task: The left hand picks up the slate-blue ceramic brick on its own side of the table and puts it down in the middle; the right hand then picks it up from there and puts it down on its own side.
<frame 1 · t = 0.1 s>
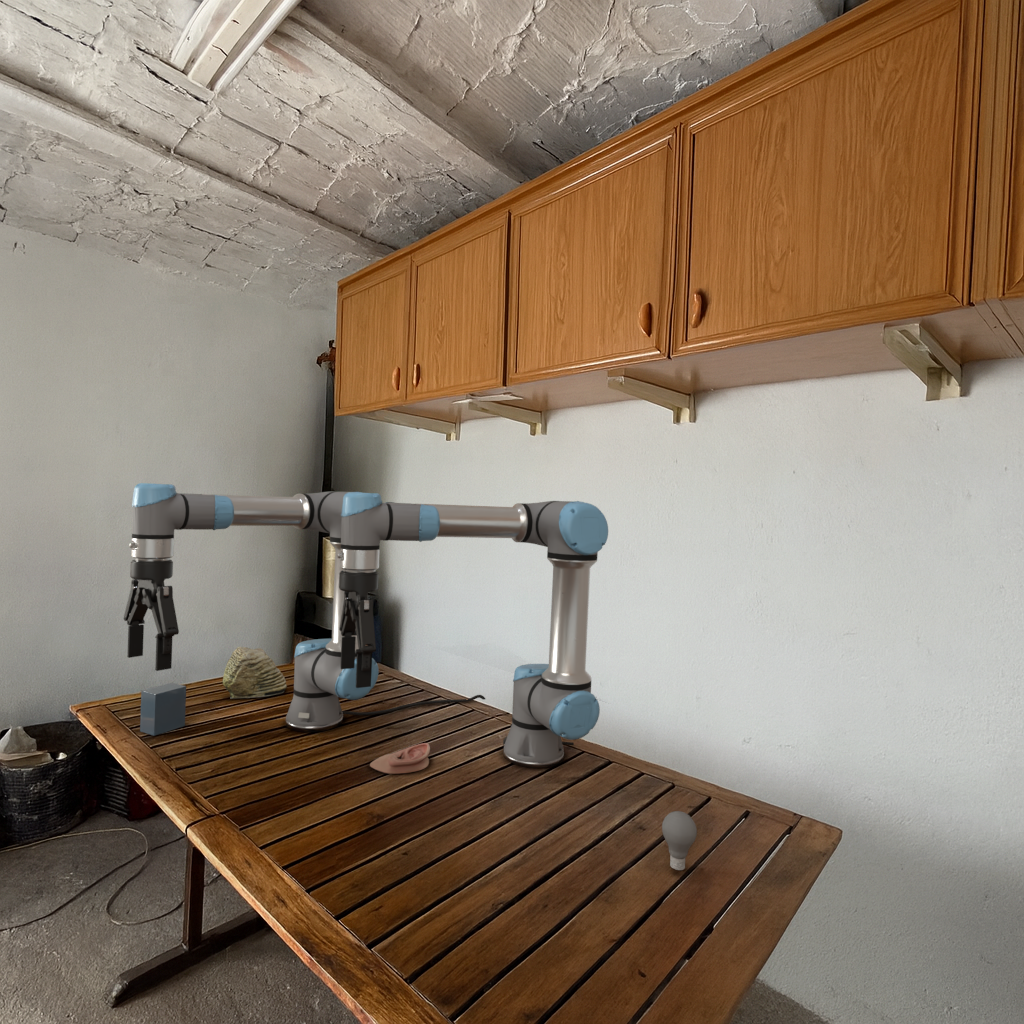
left hand: (148, 662, 129), 28 cm above the table, tool pointing down, fingers open, 13 cm apart
right hand: (355, 677, 126), 28 cm above the table, tool pointing down, fingers open, 13 cm apart
light bulb: (677, 869, 113), on the table
brick: (162, 728, 167), on the table
fossil: (254, 694, 198), on the table
anatomical model: (400, 765, 151), on the table
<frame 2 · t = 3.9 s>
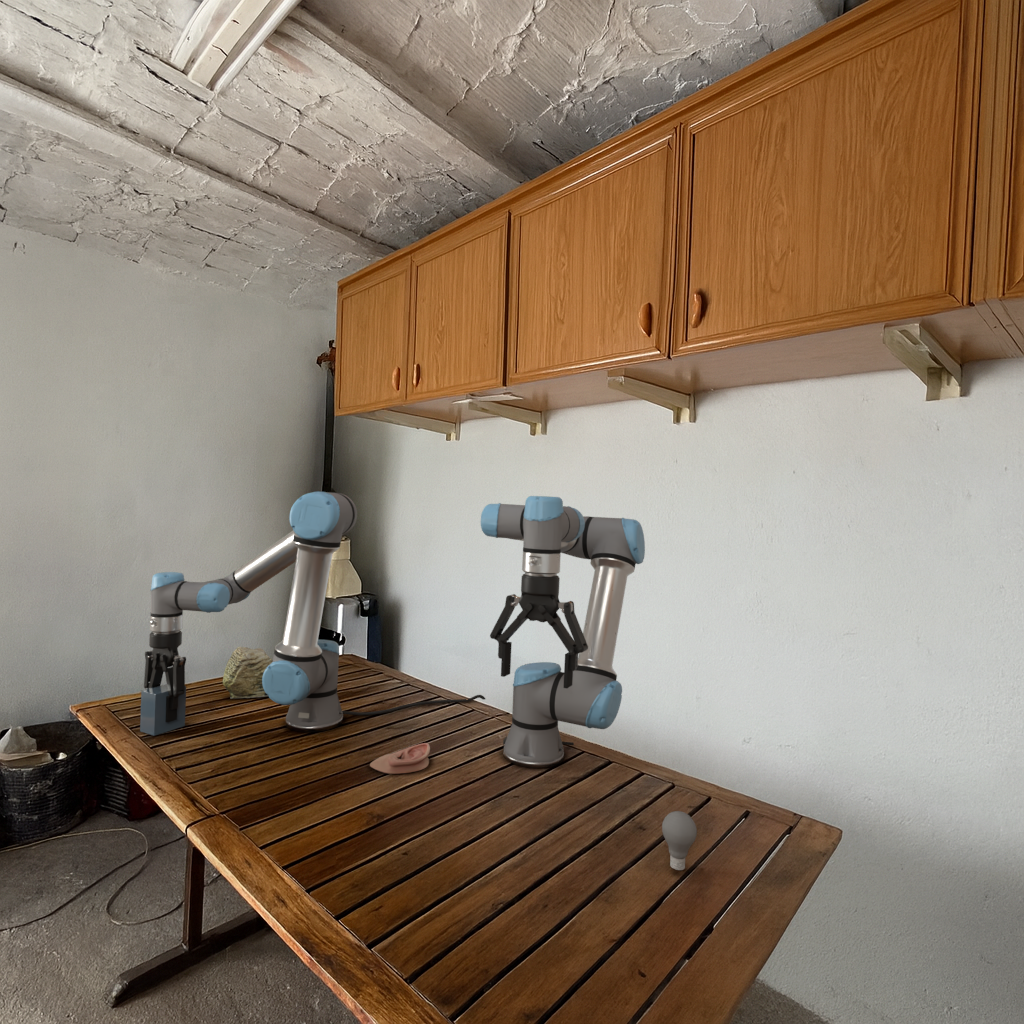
left hand: (163, 718, 167), 3 cm above the table, tool pointing down, fingers closed on brick, 6 cm apart
right hand: (535, 680, 126), 29 cm above the table, tool pointing down, fingers open, 13 cm apart
brick: (162, 728, 167), on the table, touching left hand
everything else where it was.
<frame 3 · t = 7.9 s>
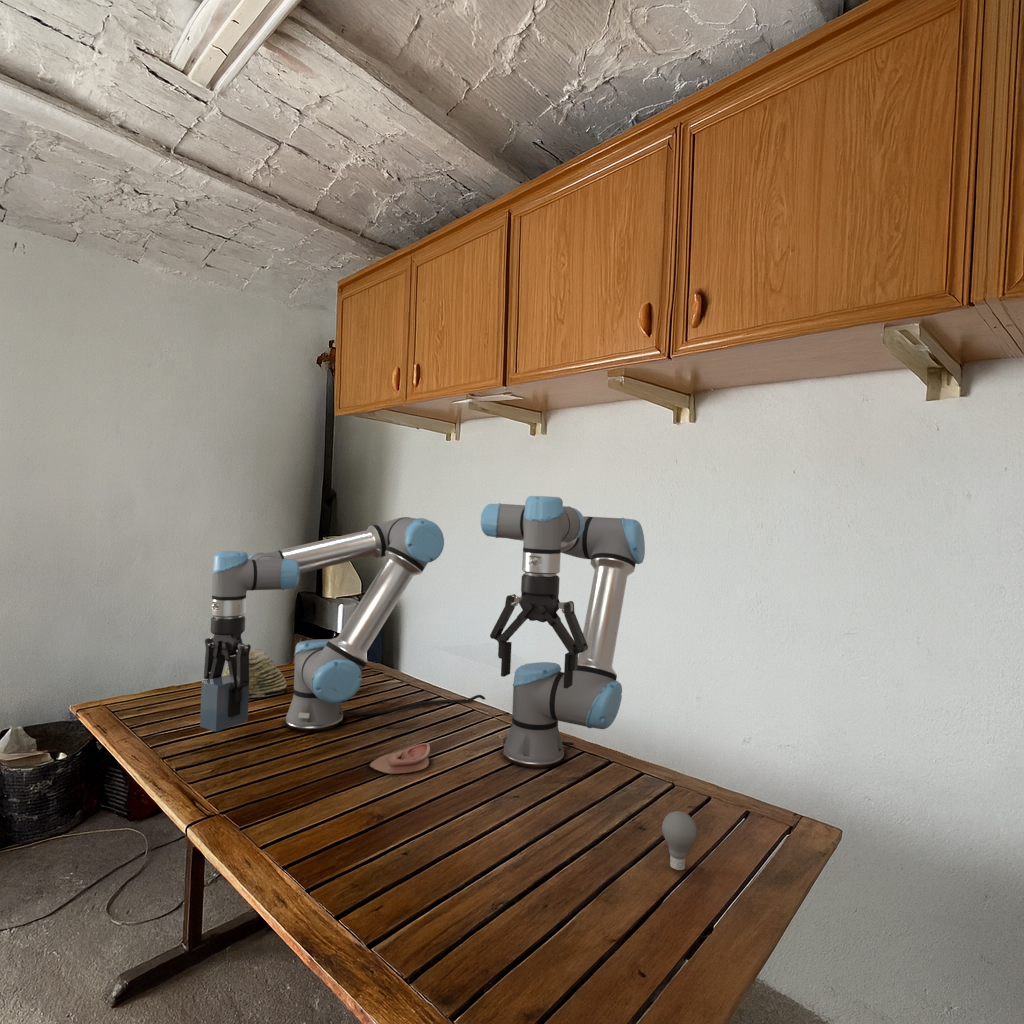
left hand: (224, 712, 151), 11 cm above the table, tool pointing down, fingers closed on brick, 6 cm apart
right hand: (535, 680, 126), 29 cm above the table, tool pointing down, fingers open, 13 cm apart
brick: (224, 723, 151), point 8 cm above the table, touching left hand
everything else where it was.
when the left hand's fingers open (4 cm above the table, at t = 12.1 s): brick drops 1 cm, on the table.
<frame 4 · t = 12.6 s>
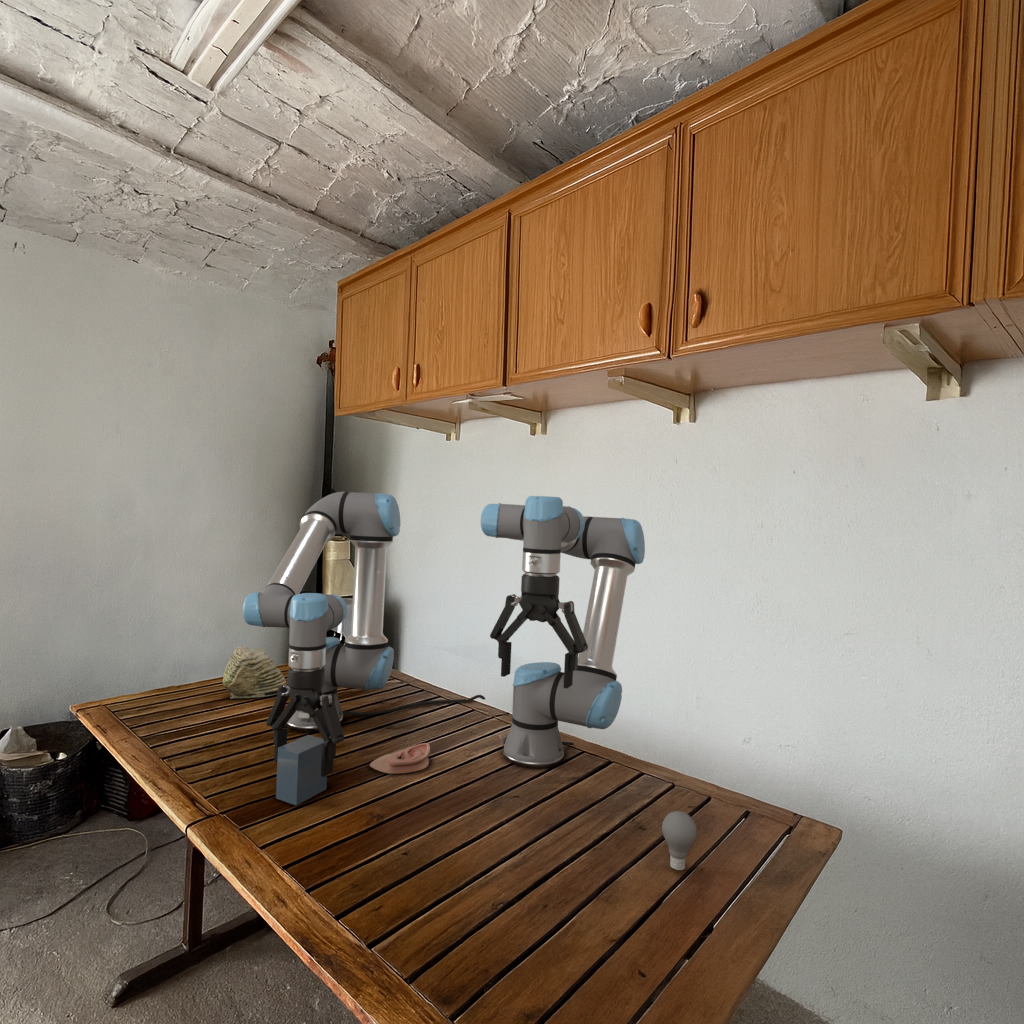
left hand: (303, 767, 135), 6 cm above the table, tool pointing down, fingers open, 13 cm apart
right hand: (535, 680, 126), 29 cm above the table, tool pointing down, fingers open, 13 cm apart
brick: (301, 793, 135), on the table
everything else where it was.
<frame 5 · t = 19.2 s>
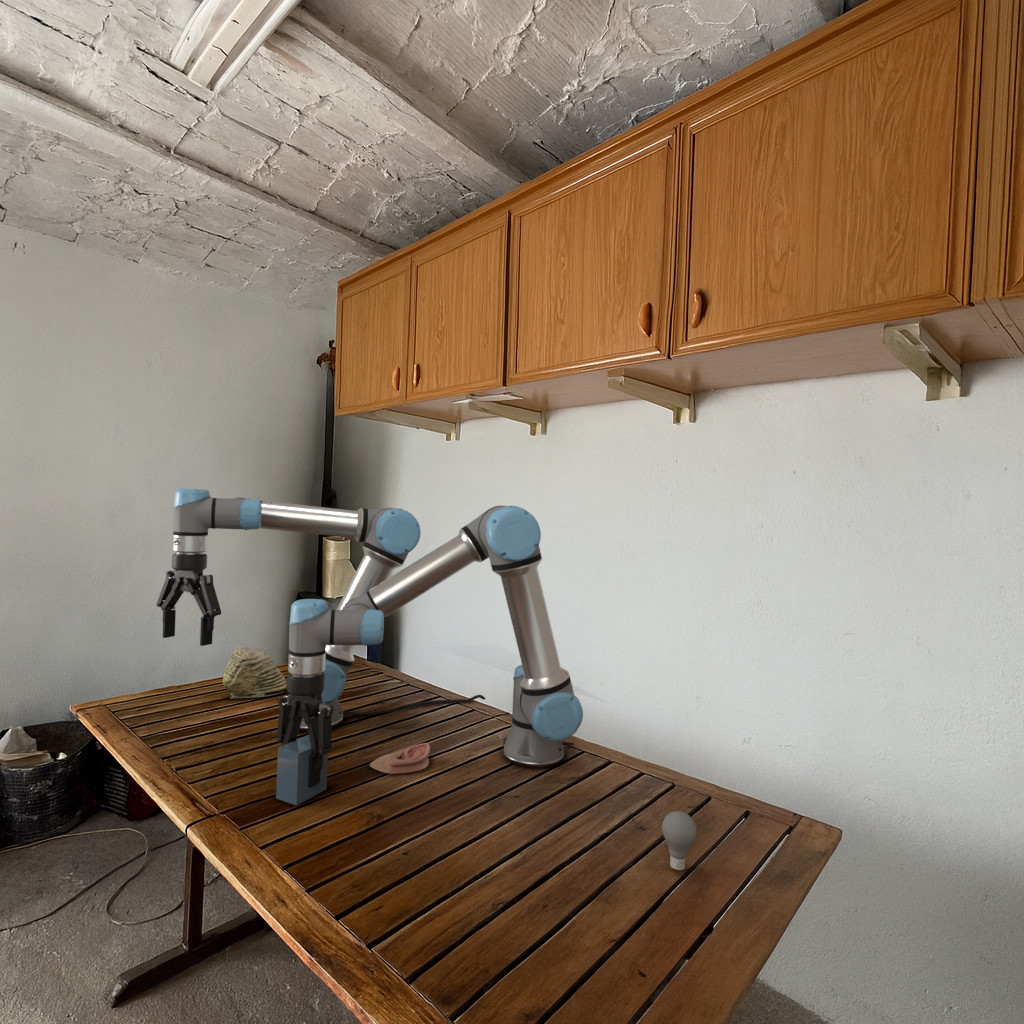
left hand: (187, 640, 153), 27 cm above the table, tool pointing down, fingers open, 13 cm apart
right hand: (302, 780, 135), 3 cm above the table, tool pointing down, fingers closed on brick, 6 cm apart
brick: (301, 793, 135), on the table, touching right hand
everything else where it was.
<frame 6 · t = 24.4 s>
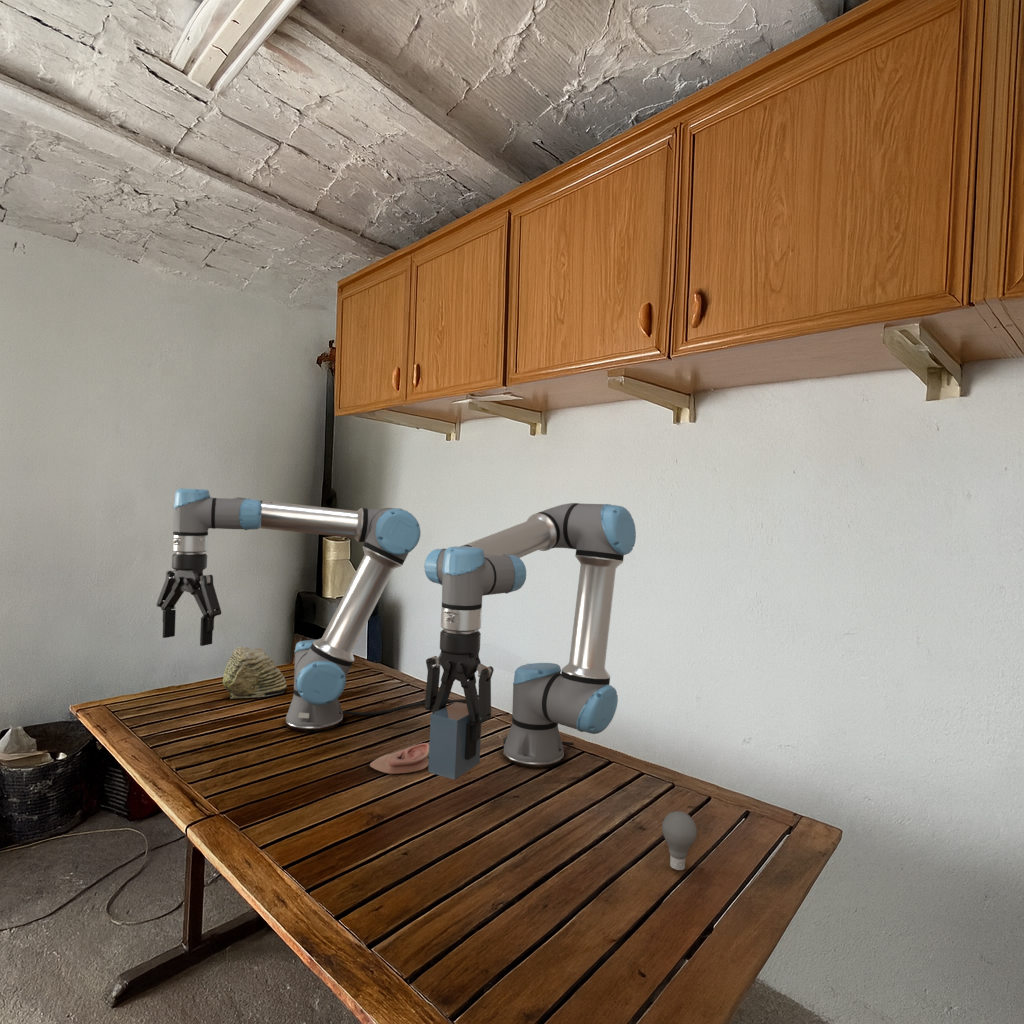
left hand: (187, 640, 153), 27 cm above the table, tool pointing down, fingers open, 13 cm apart
right hand: (455, 752, 118), 17 cm above the table, tool pointing down, fingers closed on brick, 6 cm apart
brick: (454, 767, 118), point 14 cm above the table, touching right hand
everything else where it was.
when the right hand's fingers open (4 cm above the table, at t = 29.6 s): brick drops 1 cm, on the table.
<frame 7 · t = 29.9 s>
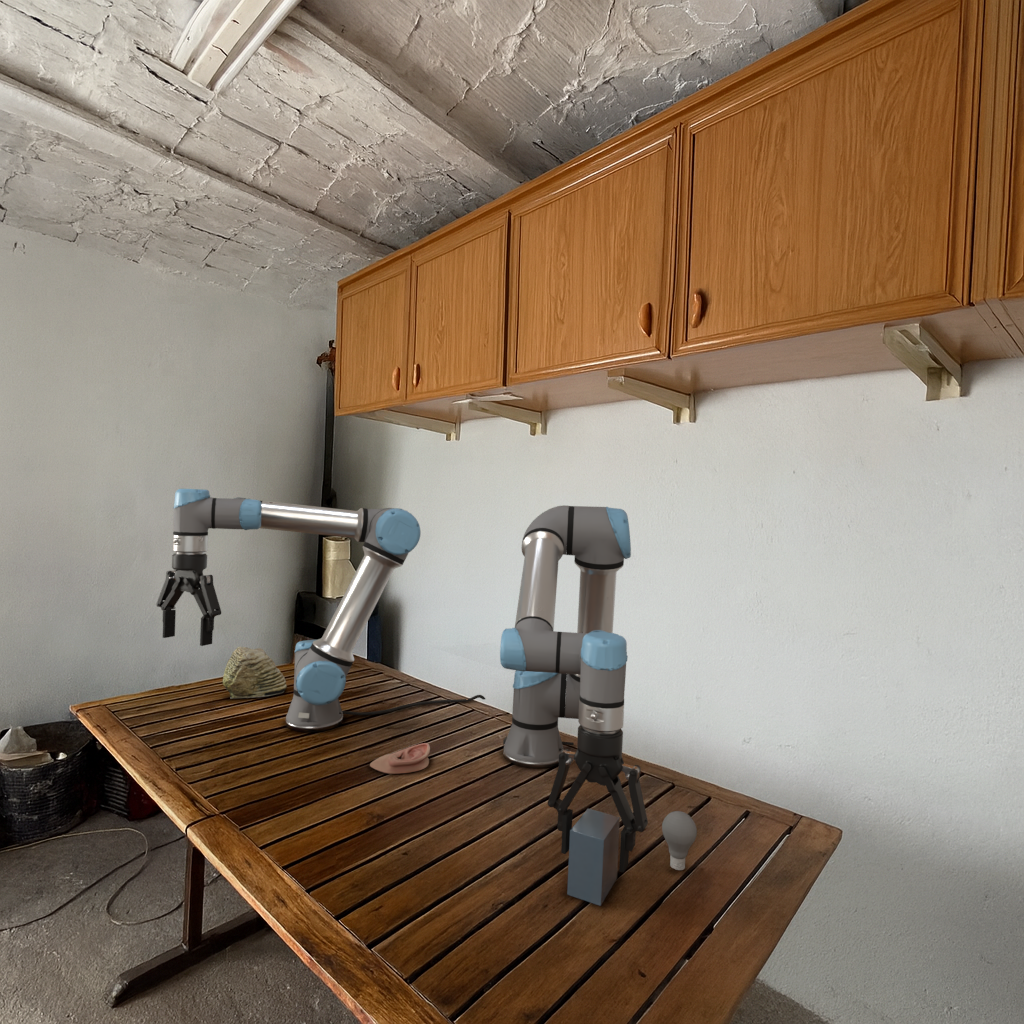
left hand: (187, 640, 153), 27 cm above the table, tool pointing down, fingers open, 13 cm apart
right hand: (594, 858, 107), 5 cm above the table, tool pointing down, fingers open, 9 cm apart
brick: (592, 886, 107), on the table
everything else where it was.
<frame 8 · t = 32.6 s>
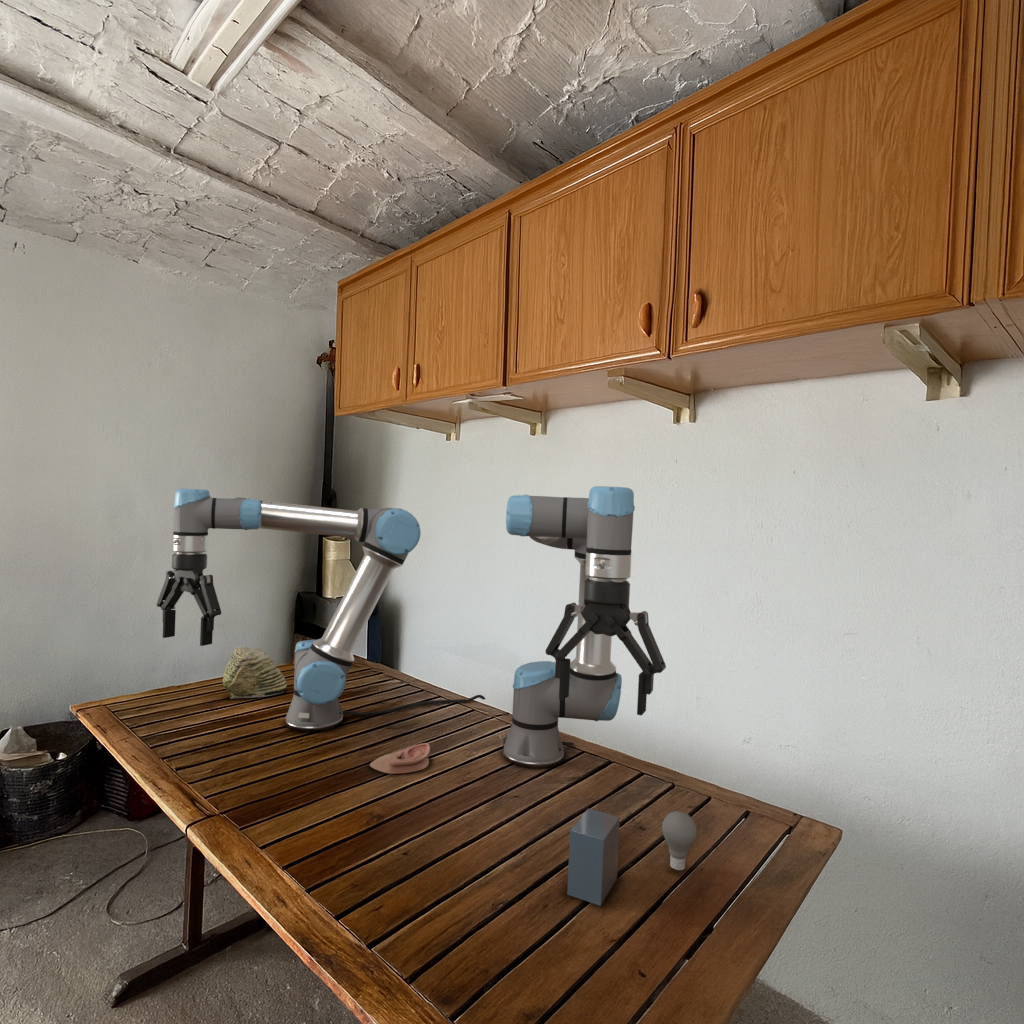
left hand: (187, 640, 153), 27 cm above the table, tool pointing down, fingers open, 13 cm apart
right hand: (601, 705, 106), 31 cm above the table, tool pointing down, fingers open, 13 cm apart
nothing on the table moved.
at the end: brick inside the target area (0.1 cm from its centre), on the table; brick tilted 0°; the two hands never held the brick at the same time; the left hand is holding nothing; the right hand is holding nothing; brick at rest at the end (0.0 cm/s) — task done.
